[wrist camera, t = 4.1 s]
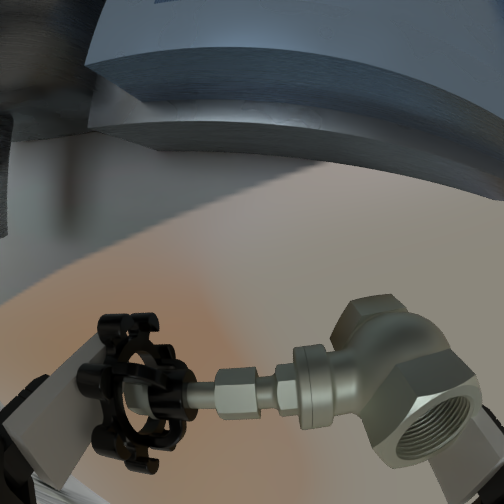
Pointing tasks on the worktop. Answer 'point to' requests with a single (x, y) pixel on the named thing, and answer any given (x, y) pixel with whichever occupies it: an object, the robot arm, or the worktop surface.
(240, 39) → the motor
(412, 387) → the valve
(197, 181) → the worktop surface
